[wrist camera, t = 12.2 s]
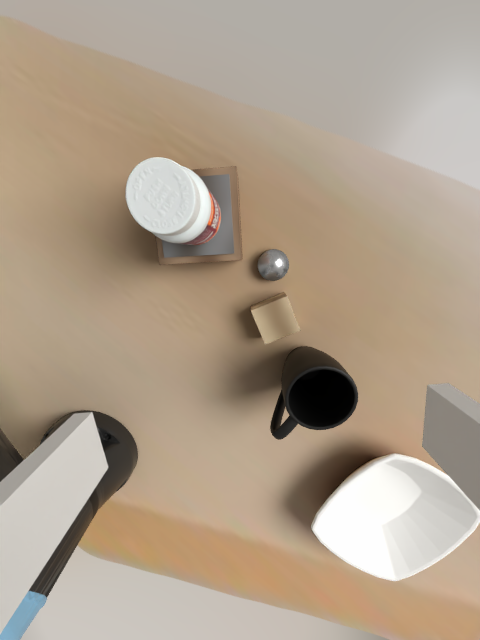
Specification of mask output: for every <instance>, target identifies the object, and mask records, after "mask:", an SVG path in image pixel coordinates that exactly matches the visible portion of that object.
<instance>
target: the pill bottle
mask: <svg viewBox="0 0 480 640" xmlns="http://www.w3.org/2000/svg"><path fill="white" fill-rule="evenodd" d="M126 201H127V205H128V208H129V210H130V213H131V214H132V216H133V218H134V219H135V220H136V221H137V222H138V224H139V225H141V226H142V227H143V228H145V229H146V230H148V231H150V232H152V233H153V234H154V235H155V236H157V237H158V238H160V239H162V240H164V241H167V242H170V243H178V244H187V245H199V244H203V243H206V242H208V241H209V240H211V239H212V238H213V237H214V236H215V234H216V233H217V231H218V229H219V226H220V222H221V212H220V208H219V205H218V203H217V201H216V199H215V198H214V196H213V195H212V194H211V192H210V191H209V189H208V188H207V186H206V185H205V183H204V182H203V181H202V179H201V178H200V177H199V176H198V175H197V174H196V173H194V172H193V171H192V170H190V169H188V168H186V167H184V166H180V165H179V164H178V163H176V162H174V161H172V160H170V159H167V158H162V157H154V158H149V159H146V160H144V161H142V162H141V163H139V164H138V165H137V166H136V167H135V168H134V169H133V171H132V172H131V174H130V176H129V178H128V181H127V184H126Z"/></svg>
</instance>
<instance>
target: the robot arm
mask: <svg viewBox="0 0 480 640" xmlns="http://www.w3.org/2000/svg"><path fill="white" fill-rule="evenodd" d="M422 447H423V448H424V449H425V450H426V451H427V452H428V453H429V454H430V456H431V457H432V458H433V459H434V460H435V461H436V462H437V463H438V465H439V466H440V467H441V468H442V469H443V470H444V471H445V472H446V473H447V475H448V476H449V477H450V478H451V479H452V480H453V481H454V482H455V483H456V485H457V486H458V487H459V488H460V489H461V490H462V491H463V492H464V494H465V495H466V496H467V497H468V498H469V499H470V500H471V501H472V502H473V504H474V505H475V506H476V507H477V508H478V509H479V510H480V404H479V403H478V402H476V401H475V400H473V399H472V398H470V397H469V396H467V395H466V394H464V393H463V392H461V391H460V390H458V389H456V388H455V387H453V386H452V385H450V384H449V383H445V384H433V385H427V394H426V406H425V418H424V430H423V443H422ZM137 459H138V451H137V446H136V443H135V441H134V439H133V437H132V435H131V434H130V432H129V431H128V430H127V429H126V428H125V427H124V426H123V425H122V424H121V423H120V422H118V421H117V420H115V419H113V418H112V417H110V416H108V415H105V414H102V413H99V412H94V411H78V412H73V413H70V414H68V415H66V416H64V417H62V418H61V419H60V420H59V421H58V422H56V423H55V424H54V425H53V426H52V427H51V428H50V429H49V430H48V431H47V432H46V434H45V435H44V437H43V439H42V440H41V443H40V446H39V447H38V448H36V449H35V450H34V451H33V452H32V453H31V454H30V455H29V456H28V457H27V458H26V459H25V460H23V458H22V457H21V456H20V454H19V453H18V452H17V450H16V449H15V448H14V446H13V445H12V444H11V442H10V441H9V440H8V438H7V437H6V436H5V434H4V433H3V432H2V430H1V429H0V640H20V639H21V637H22V635H23V634H24V633H25V631H26V630H27V628H28V626H29V625H30V623H31V622H32V620H33V619H34V617H35V616H36V614H37V613H38V611H39V610H40V609H41V608H42V607H43V606H44V604H45V602H46V600H47V596H48V595H49V593H50V591H51V589H52V588H53V586H54V584H55V582H56V581H57V579H58V577H59V576H60V574H61V572H62V571H63V569H64V567H65V565H66V564H67V562H68V560H69V558H70V557H71V555H72V553H73V552H74V550H75V548H76V547H77V545H78V543H79V541H80V540H81V538H82V536H83V535H84V533H85V531H86V530H87V528H88V526H89V524H90V523H91V521H92V519H93V518H94V516H95V514H96V513H97V511H98V509H99V508H100V507H101V506H102V505H103V504H104V503H105V502H106V501H107V500H108V499H109V498H110V497H111V496H112V495H113V494H114V493H115V492H116V491H118V490H119V489H120V488H121V487H122V486H123V485H124V484H125V483H126V482H127V481H128V479H129V477H130V476H131V474H132V472H133V470H134V468H135V466H136V463H137Z"/></svg>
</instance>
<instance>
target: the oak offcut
mask: <svg viewBox="0 0 480 640" xmlns="http://www.w3.org/2000/svg"><path fill="white" fill-rule="evenodd" d="M251 312H252V315H253V317H254V319H255V322H256V324H257V326H258V329H259V331H260V333H261V336H262V338H263V340H264V343H265V344H268V343H270V342H273V341H275V340H278V339H280V338H283V337H286V336H288V335H291V334H293V333H296V332H299V331H301V330H300V328H299V325H298V322H297V320H296V317H295V315H294V312H293V310H292V307H291V304H290V302H289V299H288V297H287V295H286V294H285V293H281V294H279V295H276V296H274V297H271V298H269V299H267V300H264V301H262V302H259V303H257V304H255V305H252V306H251Z"/></svg>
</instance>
